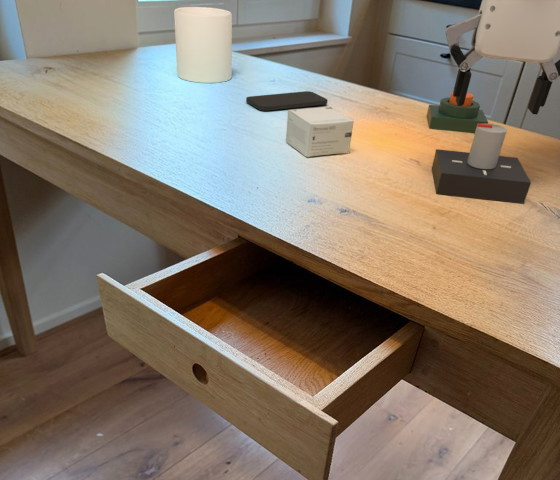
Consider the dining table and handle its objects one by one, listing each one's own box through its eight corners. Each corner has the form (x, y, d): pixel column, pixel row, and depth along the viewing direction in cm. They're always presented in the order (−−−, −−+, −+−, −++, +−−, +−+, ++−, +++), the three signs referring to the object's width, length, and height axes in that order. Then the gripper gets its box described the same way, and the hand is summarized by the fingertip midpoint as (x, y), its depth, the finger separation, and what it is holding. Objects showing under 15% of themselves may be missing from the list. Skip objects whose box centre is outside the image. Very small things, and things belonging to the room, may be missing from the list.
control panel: (511, 177, 85) (517, 156, 83) (523, 203, 78) (531, 181, 76) (431, 169, 86) (436, 147, 84) (436, 194, 79) (441, 171, 76)
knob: (493, 161, 81) (505, 122, 78) (497, 170, 78) (510, 131, 75) (465, 158, 82) (475, 119, 78) (468, 167, 79) (479, 128, 75)
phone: (243, 96, 108) (310, 90, 114) (243, 101, 109) (309, 95, 115) (261, 107, 103) (330, 100, 109) (261, 112, 104) (329, 105, 110)
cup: (208, 67, 129) (206, 5, 121) (242, 78, 123) (243, 14, 115) (166, 74, 122) (162, 8, 114) (201, 85, 116) (199, 17, 108)
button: (469, 103, 104) (472, 92, 103) (472, 108, 101) (474, 98, 100) (447, 100, 104) (450, 90, 103) (449, 106, 101) (452, 96, 100)
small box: (306, 158, 86) (309, 123, 83) (284, 142, 92) (286, 108, 88) (350, 154, 89) (355, 119, 86) (326, 138, 95) (330, 105, 91)
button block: (479, 122, 108) (485, 99, 105) (484, 134, 101) (491, 111, 99) (426, 116, 108) (431, 94, 106) (429, 129, 102) (434, 105, 100)
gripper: (610, -48, 67) (554, 107, 77) (463, -62, 68) (428, 93, 79) (632, -44, 61) (568, 123, 72) (470, -59, 62) (432, 107, 73)
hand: (495, 107), depth 75 cm, fingers open, 9 cm apart
